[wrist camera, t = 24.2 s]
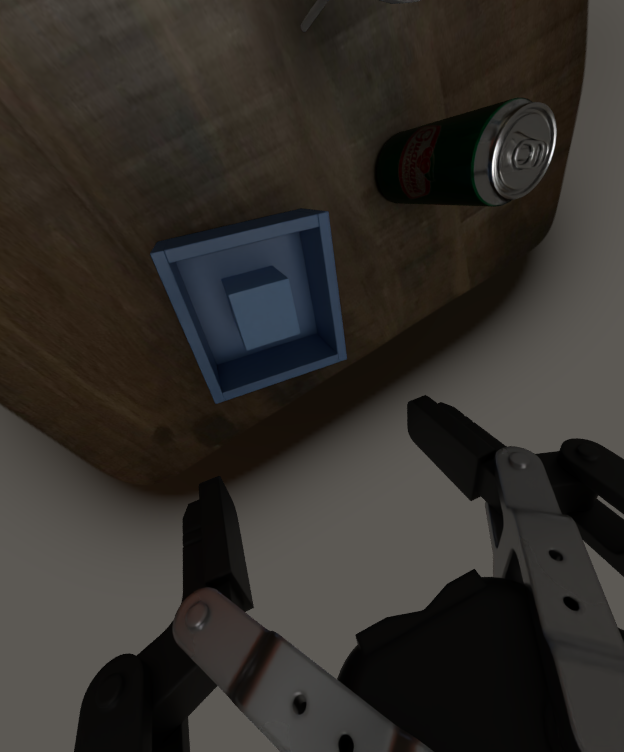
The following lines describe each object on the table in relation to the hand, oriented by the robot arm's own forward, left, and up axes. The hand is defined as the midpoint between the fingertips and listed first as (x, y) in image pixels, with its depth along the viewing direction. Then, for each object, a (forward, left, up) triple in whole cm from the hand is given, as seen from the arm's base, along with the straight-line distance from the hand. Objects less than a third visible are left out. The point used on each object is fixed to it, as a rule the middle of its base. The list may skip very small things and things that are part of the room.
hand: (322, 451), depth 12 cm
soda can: (+16, +8, -19) cm, 26 cm away
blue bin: (+1, +1, -19) cm, 19 cm away
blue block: (+1, +1, -18) cm, 18 cm away
